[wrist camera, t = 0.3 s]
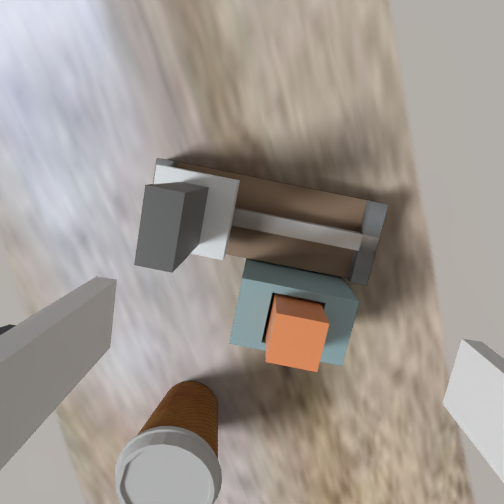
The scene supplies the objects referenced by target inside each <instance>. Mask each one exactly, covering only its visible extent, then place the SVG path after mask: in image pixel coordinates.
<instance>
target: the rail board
mask: <svg viewBox="0 0 504 504" xmlns="http://www.w3.org/2000/svg"><path fill="white" fill-rule="evenodd" d="M156 165H165V166H170V167H175V168H180V169H185V170H190V171H195V172H200V173H205V174H210V175H215V176H220V177H225V178H230V179H235V180H240V182H239V188H238V193H237V198H236V204H235V209H234V214H233V220H232V225H231V230H230V236H229V241H228V246H227V252H226V254H229V255H234V256H239V257H244V258H249V259H254V260H259V261H264V262H269V263H274V264H279V265H284V266H289V267H294V268H299V269H304V270H309V271H314V272H319V273H324V274H329V275H334V276H339V277H344V278H347V279H348V280H349V281H350V282H351V283H356V284H361V285H366V286H367V282H368V279H369V275H370V271H371V268H372V264H373V260H374V256H375V253H376V249H377V245H378V242H379V238H380V234H381V230H382V227H383V223H384V219H385V215H386V212H387V208H388V205H387V204H383V203H379V202H375V201H370V200H365V199H360V198H355V197H350V196H345V195H340V194H335V193H330V192H325V191H320V190H315V189H310V188H305V187H300V186H295V185H290V184H285V183H280V182H275V181H270V180H265V179H260V178H256V177H251V176H246V175H241V174H236V173H231V172H226V171H221V170H216V169H211V168H206V167H201V166H196V165H191V164H186V163H181V162H176V161H171V160H166V159H160V158H157V159H156ZM155 170H156V166H155ZM154 177H155V173H154ZM153 184H154V180H153Z"/></svg>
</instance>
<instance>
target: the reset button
mask: <svg viewBox="0 0 504 504" xmlns="http://www.w3.org/2000/svg"><path fill="white" fill-rule="evenodd" d="M328 328H329V321H328V319H327V317H326V315H325V312H324V310H323V308H322V305H321V303H320V302H319V301H314V300H309V299H304V298H299V297H293V296H288V295H283V294H278V293H273V294H272V298H271V303H270V308H269V312H268V317H267V321H266V326H265V340H266V362H268V363H273V364H278V365H283V366H288V367H293V368H298V369H304V370H309V371H314V372H317V371H318V367H319V363H320V359H321V355H322V351H323V347H324V343H325V339H326V335H327V331H328Z"/></svg>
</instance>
